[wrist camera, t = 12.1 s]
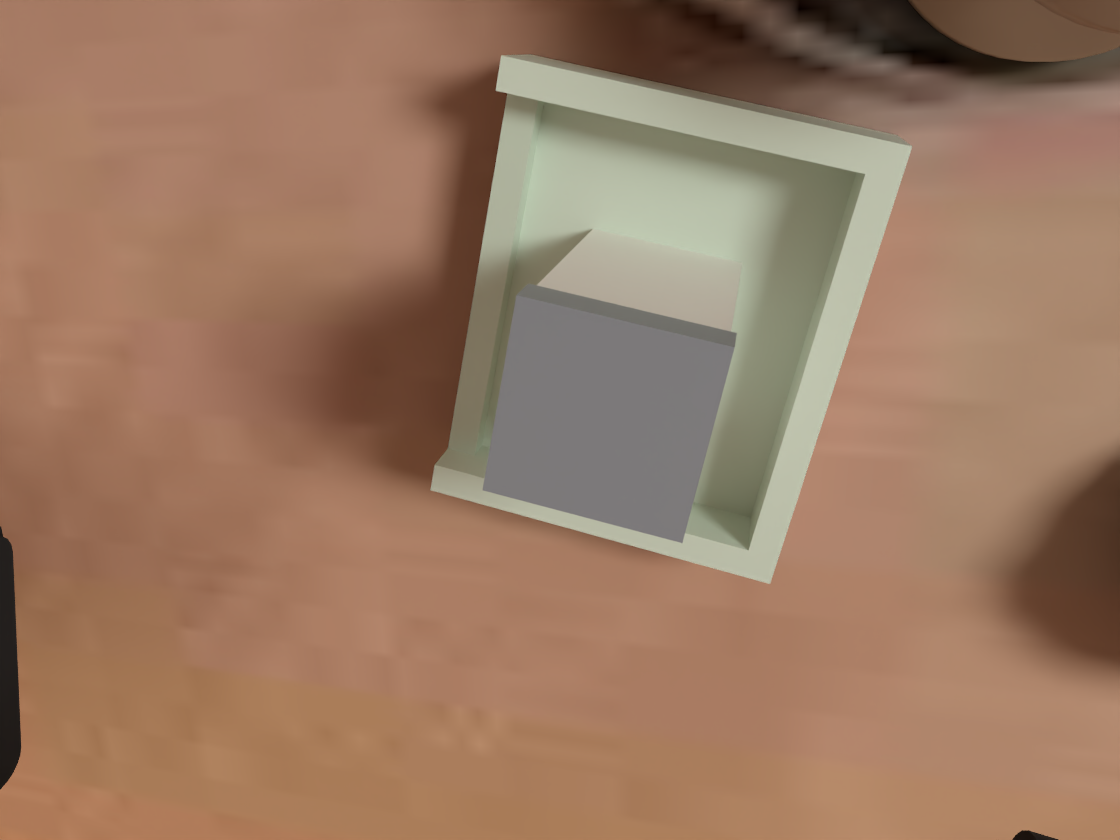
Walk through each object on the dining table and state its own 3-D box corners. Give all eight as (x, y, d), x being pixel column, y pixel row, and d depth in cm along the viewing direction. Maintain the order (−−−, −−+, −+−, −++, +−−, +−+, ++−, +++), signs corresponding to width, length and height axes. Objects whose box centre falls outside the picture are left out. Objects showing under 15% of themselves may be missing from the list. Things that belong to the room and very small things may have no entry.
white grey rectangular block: (590, 224, 26) (516, 294, 19) (747, 260, 26) (734, 347, 18) (561, 371, 28) (482, 490, 20) (708, 407, 27) (682, 542, 20)
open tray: (530, 54, 26) (500, 55, 23) (897, 135, 25) (912, 146, 22) (461, 450, 30) (430, 490, 28) (770, 533, 29) (770, 583, 27)
